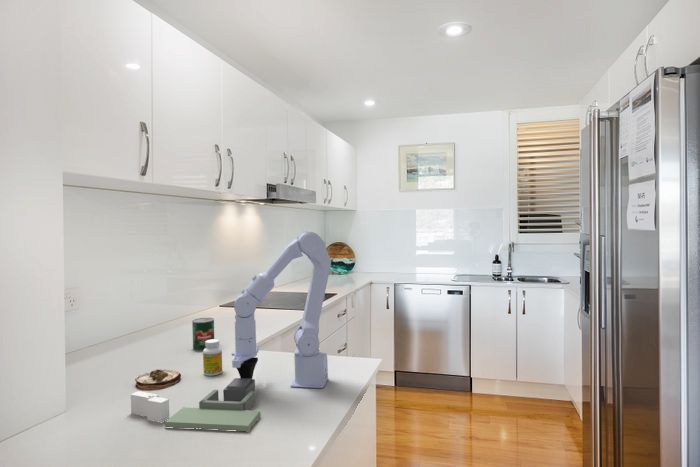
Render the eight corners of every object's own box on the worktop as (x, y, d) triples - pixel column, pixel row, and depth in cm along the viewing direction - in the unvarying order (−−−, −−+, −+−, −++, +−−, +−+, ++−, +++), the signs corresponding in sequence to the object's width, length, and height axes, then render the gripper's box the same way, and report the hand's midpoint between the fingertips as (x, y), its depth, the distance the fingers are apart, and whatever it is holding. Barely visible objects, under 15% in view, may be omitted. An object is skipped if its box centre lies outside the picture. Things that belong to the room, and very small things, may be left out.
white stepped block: (122, 413, 112) (122, 390, 112) (170, 403, 117) (170, 382, 117) (123, 438, 99) (123, 412, 99) (178, 426, 104) (177, 402, 104)
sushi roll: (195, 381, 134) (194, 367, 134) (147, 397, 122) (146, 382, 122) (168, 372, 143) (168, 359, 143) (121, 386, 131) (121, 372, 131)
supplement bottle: (203, 377, 136) (202, 344, 136) (204, 371, 142) (203, 339, 141) (222, 374, 138) (221, 342, 137) (222, 369, 143) (221, 337, 143)
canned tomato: (201, 352, 162) (200, 323, 162) (188, 349, 167) (187, 320, 167) (219, 347, 168) (218, 319, 168) (206, 344, 173) (205, 316, 173)
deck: (271, 403, 115) (271, 391, 115) (248, 432, 99) (247, 419, 99) (199, 400, 118) (198, 389, 118) (165, 428, 102) (164, 415, 102)
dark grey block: (255, 391, 124) (254, 376, 124) (245, 403, 116) (245, 387, 116) (234, 391, 124) (233, 376, 124) (223, 403, 116) (223, 386, 116)
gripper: (242, 330, 133) (243, 375, 133) (221, 343, 118) (222, 394, 119) (264, 331, 132) (265, 376, 132) (246, 344, 117) (247, 395, 118)
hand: (246, 385), depth 125 cm, fingers closed
